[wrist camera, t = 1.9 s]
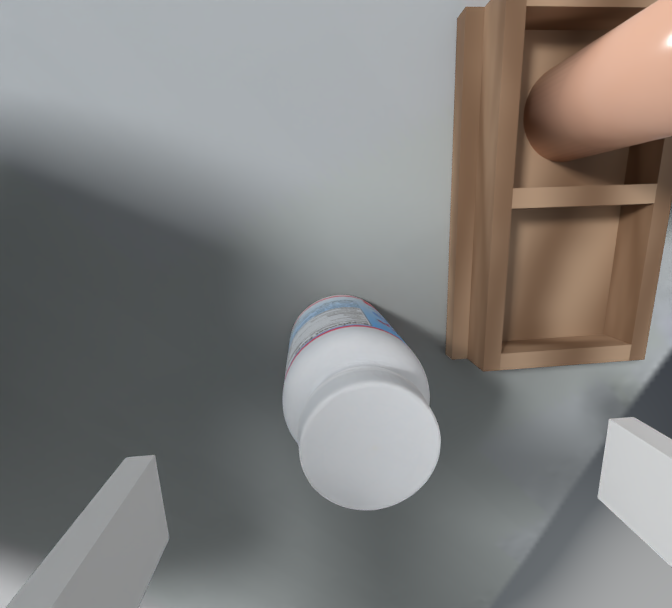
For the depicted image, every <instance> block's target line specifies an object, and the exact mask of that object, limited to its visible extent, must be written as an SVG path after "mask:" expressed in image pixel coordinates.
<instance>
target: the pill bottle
mask: <svg viewBox="0 0 672 608" xmlns="http://www.w3.org/2000/svg"><path fill="white" fill-rule="evenodd" d="M282 402H283V413H284V417H285V421H286V424H287V427H288V429H289V431H290V433H291V435H292V436H293V438H294V440H295V441H296V442H297V444H298V445H299V457H300V462H301V466H302V469H303V472H304V474H305V476H306V478H307V479H308V481H309V483H310V484H311V485H312V487H313V488H314V489H315V490H316V491H317V492H318V493H319V494H320V495H322V496H323V497H324V498H326V499H327V500H329V501H330V502H332V503H334V504H337V505H339V506H342V507H345V508H348V509H355V510H377V509H382V508H387V507H390V506H393V505H396V504H398V503H400V502H402V501H404V500H405V499H407V498H409V497H410V496H412V495H413V494H414V493H415V492H417V491H418V490H419V489H420V488H421V487H422V486H423V485H424V484H425V483H426V482H427V480H428V479H429V477H430V476H431V474H432V473H433V471H434V469H435V467H436V465H437V462H438V459H439V455H440V448H441V435H440V429H439V425H438V422H437V419H436V417H435V415H434V413H433V411H432V410H431V408H430V407H429V404H430V390H429V384H428V380H427V376H426V374H425V371H424V369H423V367H422V365H421V363H420V361H419V360H418V358H417V357H416V355H415V354H414V353H413V351H412V350H411V349H410V348H409V347H408V345H407V344H406V343H405V342H404V341H403V340H402V338H401V337H400V336H399V335H398V334H397V333H396V331H395V330H394V329H393V328H392V327H391V326H390V324H389V323H388V322H387V321H386V320H385V319H384V317H383V316H382V315H381V314H380V313H379V312H378V311H377V310H376V309H375V308H374V307H373V306H372V305H371V304H369V303H368V302H366V301H365V300H363V299H361V298H358V297H355V296H351V295H333V296H329V297H325V298H323V299H320V300H318V301H316V302H314V303H313V304H311V305H310V306H308V307H307V308H306V309H305V310H304V311H303V312H302V313H301V314H300V315H299V317H298V318H297V320H296V321H295V323H294V326H293V328H292V332H291V336H290V342H289V350H288V357H287V364H286V372H285V379H284V386H283V398H282Z"/></svg>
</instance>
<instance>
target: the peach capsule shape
mask: <svg viewBox="0 0 672 608" xmlns="http://www.w3.org/2000/svg"><path fill="white" fill-rule="evenodd" d="M523 121H524V129H525V134H526V136H527V139H528V141H529V143H530V145H531V146H532V148H533V149H534V150H535V151H536V152H537V153H538V154H539V155H540V156H542V157H544V158H545V159H548V160H550V161H555V162H568V161H572V160H576V159H580V158H584V157H588V156H592V155H596V154H600V153H605V152H609V151H613V150H617V149H621V148H625V147H629V146H633V145H637V144H641V143H645V142H650V141H654V140H658V139H662V138H666V137H670V136H672V0H658V1H656V2H655V3H653V4H651V5H650V6H648V7H647V8H645V9H644V10H642V11H640V12H639V13H637V14H636V15H634V16H633V17H631V18H629V19H628V20H626V21H625V22H623V23H622V24H620V25H618V26H617V27H615V28H614V29H612V30H611V31H609V32H608V33H606V34H604V35H603V36H601V37H600V38H598V39H597V40H595V41H593V42H592V43H590V44H589V45H587V46H586V47H584V48H582V49H581V50H579V51H578V52H576V53H575V54H573V55H571V56H570V57H568V58H567V59H565V60H564V61H562V62H560V63H559V64H557V65H556V66H554V67H553V68H551V69H549V70H548V71H547V72H545V73H544V74H543V75H542V76H541V77H540V78H539V79H538V80H537V82H536V83H535V84H534V86H533V87H532V89H531V91H530V93H529V95H528V97H527V100H526V104H525V108H524V118H523Z"/></svg>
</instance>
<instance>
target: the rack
mask: <svg viewBox="0 0 672 608" xmlns="http://www.w3.org/2000/svg"><path fill="white" fill-rule="evenodd" d="M656 1H658V0H490V1H489V3H488V4H487V5H486V6H485V7H465V9H464V10H463V11H462V13H461V14H460V15H459V17H458V18H457V42H456V70H455V99H454V127H453V156H452V185H451V213H450V242H449V271H448V299H447V328H446V355H447V356H448V357H450V358H451V359H452V360H454V359H468V360H470V361H471V362H472V363H473V364H475V365H476V366H477V367H478V368H480V369H481V370H482V371H497V370H510V369H523V368H537V367H550V366H563V365H577V364H590V363H604V362H617V361H630V360H644V359H645V353H646V347H647V342H648V336H649V330H650V324H651V318H652V312H653V307H654V301H655V295H656V289H657V283H658V278H659V272H660V266H661V260H662V254H663V248H664V243H665V237H666V231H667V225H668V219H669V214H670V208H671V202H672V136H670V137H666V138H662V139H658V140H654V141H650V142H645V143H641V144H637V145H633V146H629V147H625V148H621V149H617V150H613V151H609V152H605V153H600V154H596V155H592V156H588V157H584V158H580V159H576V160H572V161H568V162H555V161H550V160H548V159H545V158H544V157H542V156H540V155H539V154H538V153H537V152H536V151H535V150H534V149H533V148H532V146H531V145H530V143H529V141H528V139H527V136H526V134H525V129H524V121H523V118H524V108H525V104H526V100H527V97H528V95H529V93H530V91H531V89H532V87H533V86H534V84H535V83H536V82H537V80H538V79H539V78H540V77H541V76H542V75H543V74H544V73H545V72H547V71H548V70H549V69H551V68H553V67H554V66H556V65H557V64H559V63H560V62H562V61H564V60H565V59H567V58H568V57H570V56H571V55H573V54H575V53H576V52H578V51H579V50H581V49H582V48H584V47H586V46H587V45H589V44H590V43H592V42H593V41H595V40H597V39H598V38H600V37H601V36H603V35H604V34H606V33H608V32H609V31H611V30H612V29H614V28H615V27H617V26H618V25H620V24H622V23H623V22H625V21H626V20H628V19H629V18H631V17H633V16H634V15H636V14H637V13H639V12H640V11H642V10H644V9H645V8H647V7H648V6H650V5H651V4H653V3H655V2H656Z"/></svg>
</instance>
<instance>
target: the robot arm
mask: <svg viewBox="0 0 672 608" xmlns="http://www.w3.org/2000/svg"><path fill="white" fill-rule="evenodd" d="M598 499H599V500H600V501H602V502H603V503H604V504H605V505H606V506H607V507H608V508H609V509H610V510H611V511H612V512H613V513H614V514H615V515H616V516H617V517H618V518H620V519H621V520H622V521H623V522H624V523H625V524H626V525H627V526H628V527H629V528H630V529H632V531H633V532H635V533H636V534H637V535H638V536H639V537H640V538H641V539H642V540H643V541H644V542H645V543H646V544H647V545H648V546H649V547H650V548H652V549H653V550H654V551H655V552H656V553H657V554H658V555H659V556H660V557H661V558H662V559H663V560H664V561H665V562H666V563H668V564H669V565H670V566H671V567H672V439H670V438H669V437H667V436H665V435H663V434H662V433H660V432H658V431H657V430H655V429H653V428H651V427H650V426H648V425H646V424H645V423H643V422H641V421H640V420H638V419H636V418H634V417H626V418H614V419H609V424H608V431H607V437H606V444H605V451H604V458H603V465H602V471H601V478H600V485H599V491H598ZM168 540H169V533H168V527H167V521H166V515H165V510H164V504H163V498H162V492H161V486H160V481H159V475H158V469H157V463H156V457H155V455H146V456H134V457H126V458H125V459H124V460H123V461H122V463H121V464H120V465H119V466H118V468H117V469H116V470H115V471H114V473H113V474H112V475H111V476H110V478H109V479H108V480H107V481H106V483H105V484H104V485H103V486H102V488H101V489H100V490H99V491H98V493H97V494H96V495H95V496H94V498H93V499H92V500H91V501H90V503H89V504H88V505H87V506H86V508H85V509H84V510H83V511H82V513H81V514H80V515H79V516H78V518H77V519H76V520H75V521H74V523H73V524H72V525H71V526H70V528H69V529H68V530H67V531H66V533H65V534H64V535H63V536H62V538H61V539H60V540H59V541H58V543H57V544H56V545H55V546H54V548H53V549H52V550H51V551H50V553H49V554H48V555H47V556H46V558H45V559H44V560H43V561H42V563H41V564H40V565H39V566H38V568H37V569H36V570H35V571H34V573H33V574H32V575H31V576H30V578H29V579H28V580H27V581H26V583H25V584H24V585H23V586H22V588H21V589H20V590H19V591H18V593H17V594H16V595H15V596H14V598H13V599H12V600H11V601H10V603H9V604H8V605H7V606H6V608H138V607H139V605H140V603H141V600H142V598H143V596H144V594H145V591H146V589H147V587H148V585H149V583H150V580H151V578H152V576H153V574H154V572H155V569H156V567H157V565H158V563H159V560H160V558H161V556H162V554H163V552H164V549H165V547H166V545H167V543H168Z"/></svg>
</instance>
